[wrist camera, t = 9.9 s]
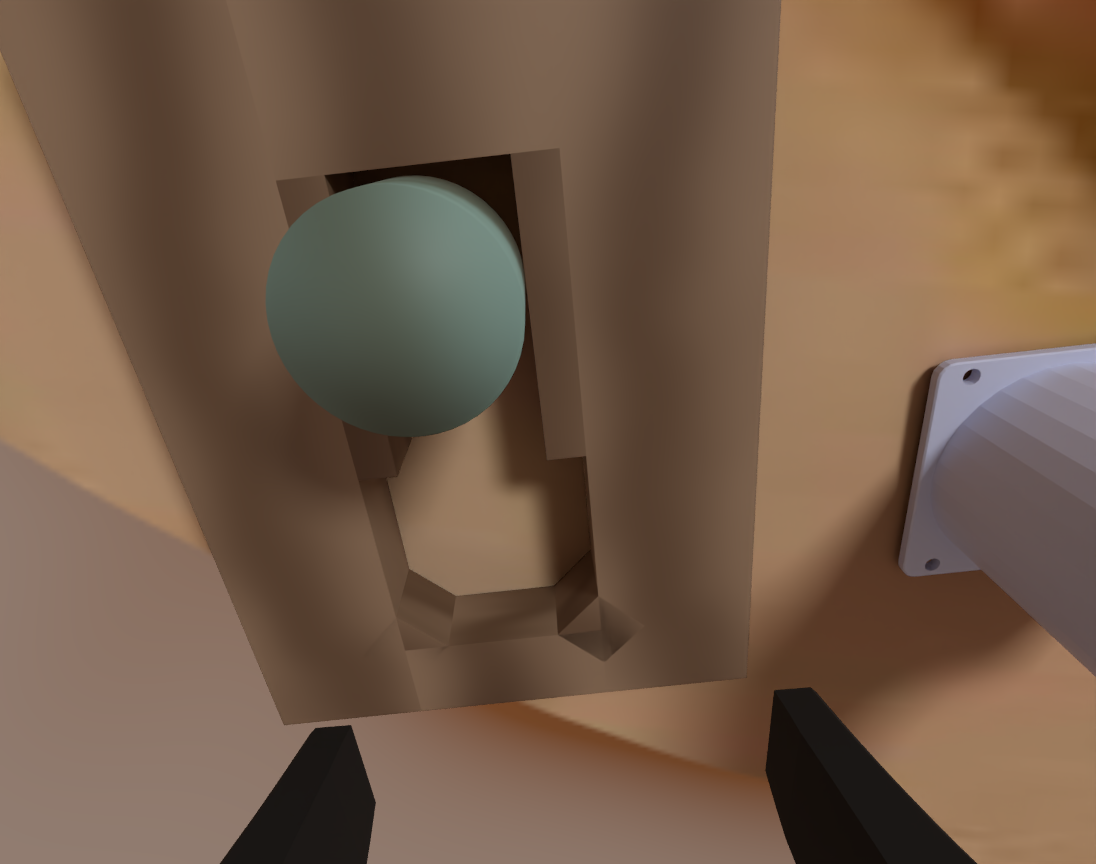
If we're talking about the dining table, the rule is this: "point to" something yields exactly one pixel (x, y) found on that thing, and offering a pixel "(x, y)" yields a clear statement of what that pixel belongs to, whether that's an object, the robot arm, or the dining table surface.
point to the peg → (399, 305)
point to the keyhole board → (552, 289)
